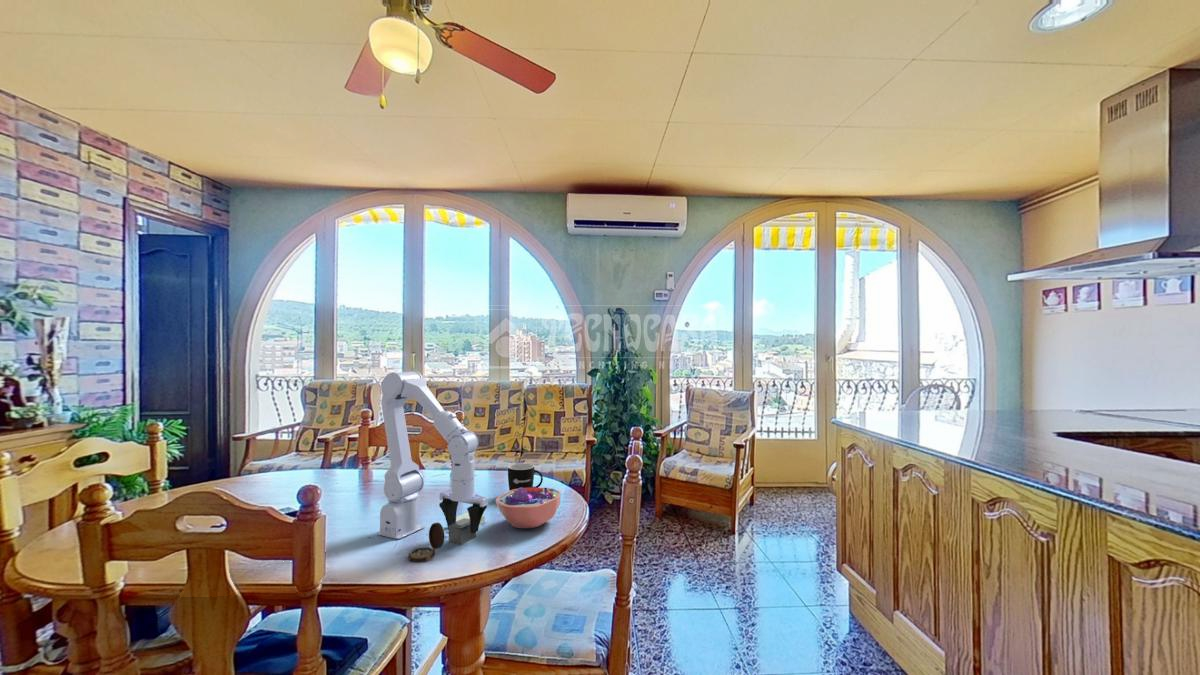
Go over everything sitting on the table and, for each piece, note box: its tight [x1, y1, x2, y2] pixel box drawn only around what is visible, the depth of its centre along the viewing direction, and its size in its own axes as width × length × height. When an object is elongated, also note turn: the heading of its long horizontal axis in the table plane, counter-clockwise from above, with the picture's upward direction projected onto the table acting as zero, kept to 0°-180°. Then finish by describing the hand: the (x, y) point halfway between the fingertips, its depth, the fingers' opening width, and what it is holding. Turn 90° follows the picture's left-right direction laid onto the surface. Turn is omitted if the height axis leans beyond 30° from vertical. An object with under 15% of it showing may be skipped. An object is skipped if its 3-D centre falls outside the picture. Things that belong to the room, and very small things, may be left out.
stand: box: [456, 511, 486, 526], centre depth 140 cm, size 8×6×2 cm
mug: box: [507, 462, 544, 491], centre depth 167 cm, size 12×9×10 cm
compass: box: [407, 521, 445, 563], centre depth 118 cm, size 8×8×7 cm
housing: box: [448, 518, 477, 546], centre depth 129 cm, size 6×4×5 cm
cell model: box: [495, 487, 562, 529], centre depth 140 cm, size 17×20×11 cm
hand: (462, 529), depth 129 cm, fingers open, 7 cm apart
